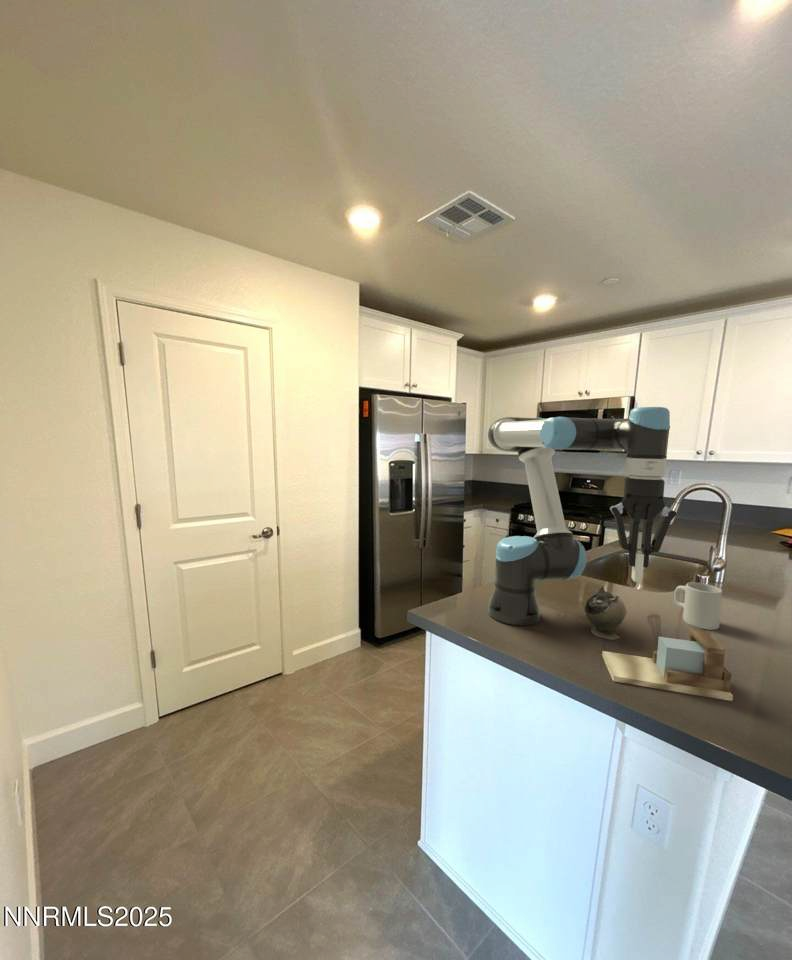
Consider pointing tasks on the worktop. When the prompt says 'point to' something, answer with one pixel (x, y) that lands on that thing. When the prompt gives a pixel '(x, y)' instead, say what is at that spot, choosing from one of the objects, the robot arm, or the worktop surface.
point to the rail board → (648, 675)
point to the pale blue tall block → (679, 655)
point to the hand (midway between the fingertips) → (636, 580)
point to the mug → (700, 605)
